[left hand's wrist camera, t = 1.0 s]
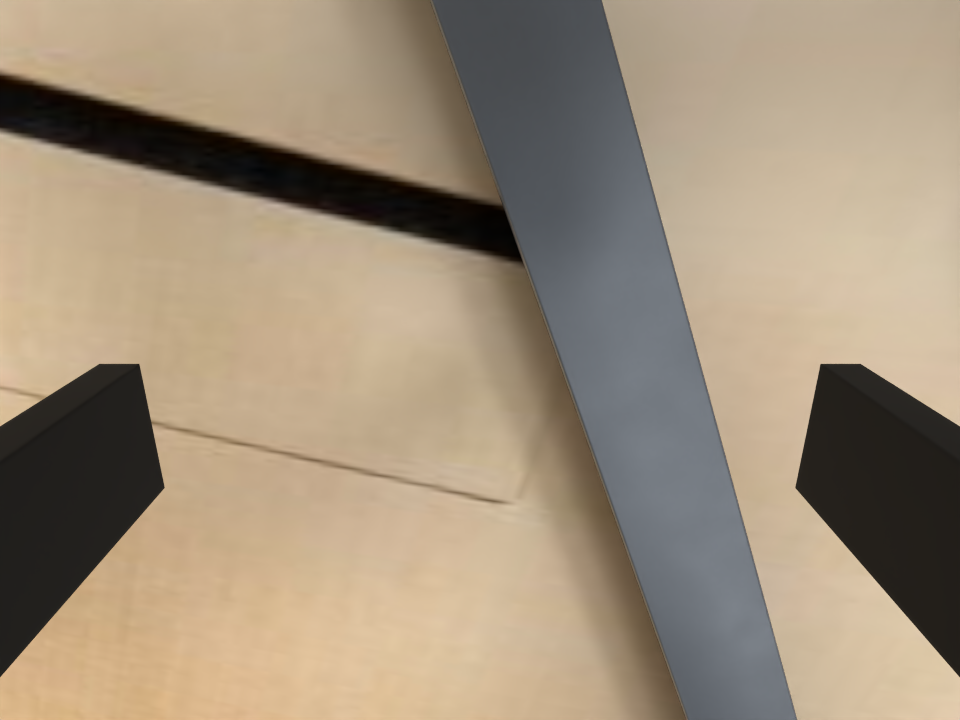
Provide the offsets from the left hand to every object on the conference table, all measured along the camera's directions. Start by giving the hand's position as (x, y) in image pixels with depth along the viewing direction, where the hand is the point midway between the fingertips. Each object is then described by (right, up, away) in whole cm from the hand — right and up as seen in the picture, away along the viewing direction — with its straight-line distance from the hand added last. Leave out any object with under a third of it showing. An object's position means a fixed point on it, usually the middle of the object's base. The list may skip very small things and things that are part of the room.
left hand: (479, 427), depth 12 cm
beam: (+12, -12, +25) cm, 30 cm away
